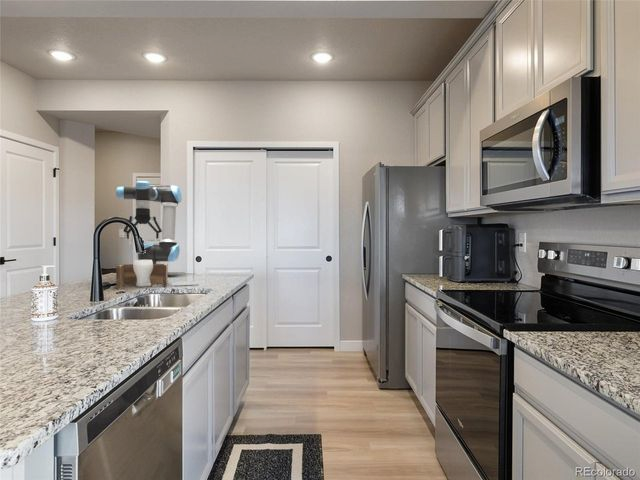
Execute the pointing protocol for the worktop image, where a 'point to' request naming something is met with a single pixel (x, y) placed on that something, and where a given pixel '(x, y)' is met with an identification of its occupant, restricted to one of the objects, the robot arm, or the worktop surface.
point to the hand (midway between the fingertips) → (143, 244)
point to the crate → (128, 276)
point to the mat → (185, 283)
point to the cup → (143, 272)
